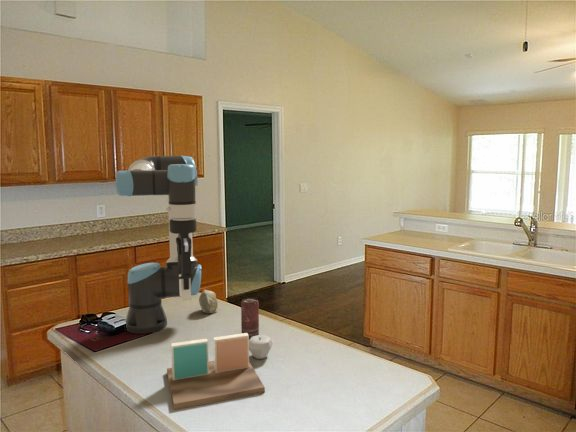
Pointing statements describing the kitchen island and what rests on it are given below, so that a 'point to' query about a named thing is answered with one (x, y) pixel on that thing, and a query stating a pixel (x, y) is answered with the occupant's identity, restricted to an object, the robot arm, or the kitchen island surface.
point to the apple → (260, 346)
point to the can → (250, 316)
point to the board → (214, 386)
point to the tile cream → (231, 352)
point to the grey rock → (208, 301)
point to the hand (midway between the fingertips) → (185, 297)
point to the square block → (189, 359)
